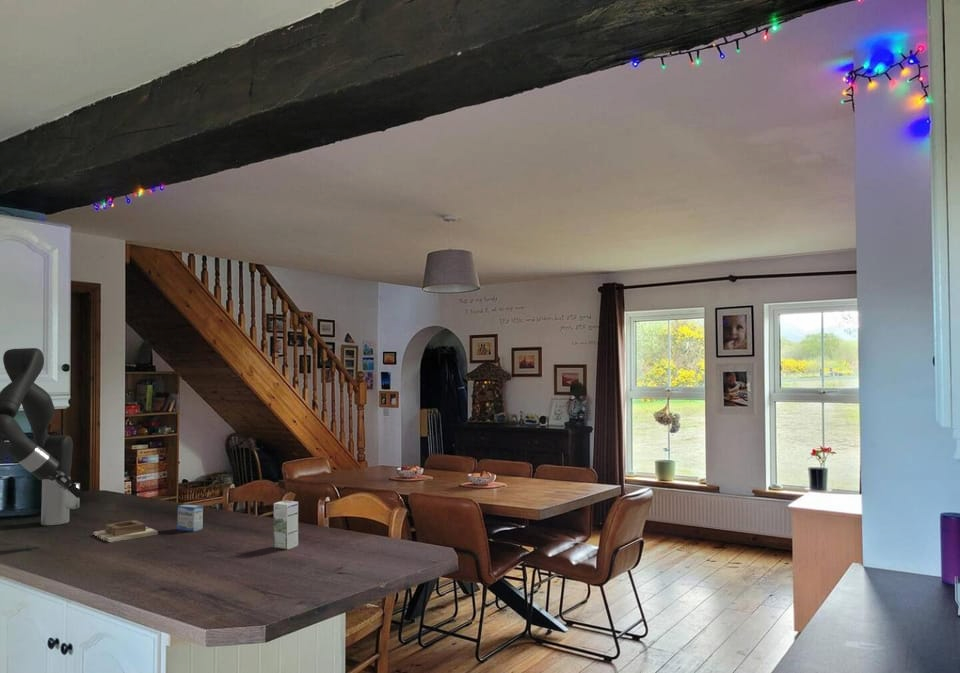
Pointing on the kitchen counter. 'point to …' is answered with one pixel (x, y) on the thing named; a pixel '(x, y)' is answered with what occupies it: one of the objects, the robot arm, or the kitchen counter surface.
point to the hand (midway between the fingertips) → (79, 494)
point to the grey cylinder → (72, 499)
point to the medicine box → (190, 518)
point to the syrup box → (285, 524)
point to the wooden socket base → (124, 531)
